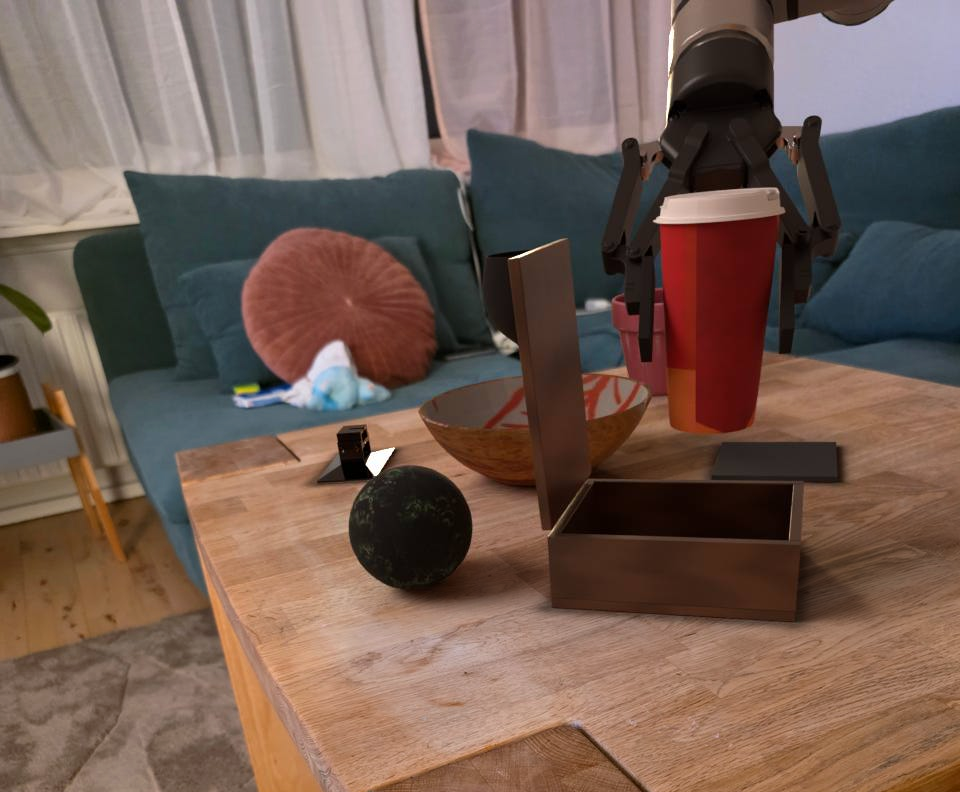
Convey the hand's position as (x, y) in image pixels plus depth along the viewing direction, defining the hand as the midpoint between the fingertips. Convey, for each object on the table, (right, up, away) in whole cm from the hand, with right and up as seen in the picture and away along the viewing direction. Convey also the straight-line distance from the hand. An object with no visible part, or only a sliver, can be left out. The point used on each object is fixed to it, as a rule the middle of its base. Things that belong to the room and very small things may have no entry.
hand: (714, 345), depth 59 cm
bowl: (-9, -1, +40) cm, 41 cm away
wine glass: (-9, +14, +69) cm, 71 cm away
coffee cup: (+1, -4, +6) cm, 7 cm away
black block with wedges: (-30, +1, +49) cm, 57 cm away
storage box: (0, -14, +12) cm, 19 cm away
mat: (+16, -1, +35) cm, 38 cm away
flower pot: (+11, +17, +70) cm, 73 cm away
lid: (-10, 0, +8) cm, 12 cm away
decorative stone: (-21, -15, +15) cm, 30 cm away
